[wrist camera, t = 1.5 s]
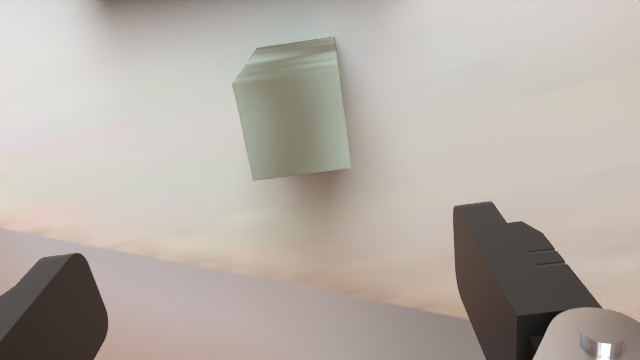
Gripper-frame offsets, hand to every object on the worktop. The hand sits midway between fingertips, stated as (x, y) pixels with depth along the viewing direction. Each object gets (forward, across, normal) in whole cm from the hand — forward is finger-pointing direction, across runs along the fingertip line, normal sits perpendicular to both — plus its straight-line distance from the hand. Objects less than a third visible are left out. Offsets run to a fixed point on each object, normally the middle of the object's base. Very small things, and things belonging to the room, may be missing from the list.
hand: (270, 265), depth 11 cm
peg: (+18, 0, 0) cm, 18 cm away
